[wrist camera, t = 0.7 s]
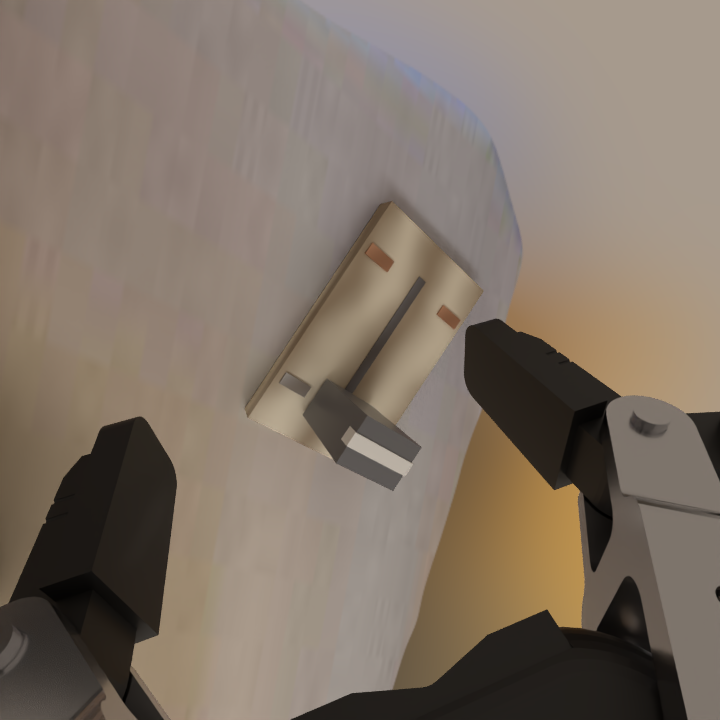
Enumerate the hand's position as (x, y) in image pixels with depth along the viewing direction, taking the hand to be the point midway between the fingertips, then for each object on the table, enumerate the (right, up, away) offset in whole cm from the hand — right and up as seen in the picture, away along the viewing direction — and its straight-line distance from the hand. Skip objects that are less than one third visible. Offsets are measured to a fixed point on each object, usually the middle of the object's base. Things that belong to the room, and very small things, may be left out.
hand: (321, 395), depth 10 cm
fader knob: (-1, -3, +22) cm, 22 cm away
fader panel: (+2, +2, +24) cm, 25 cm away
